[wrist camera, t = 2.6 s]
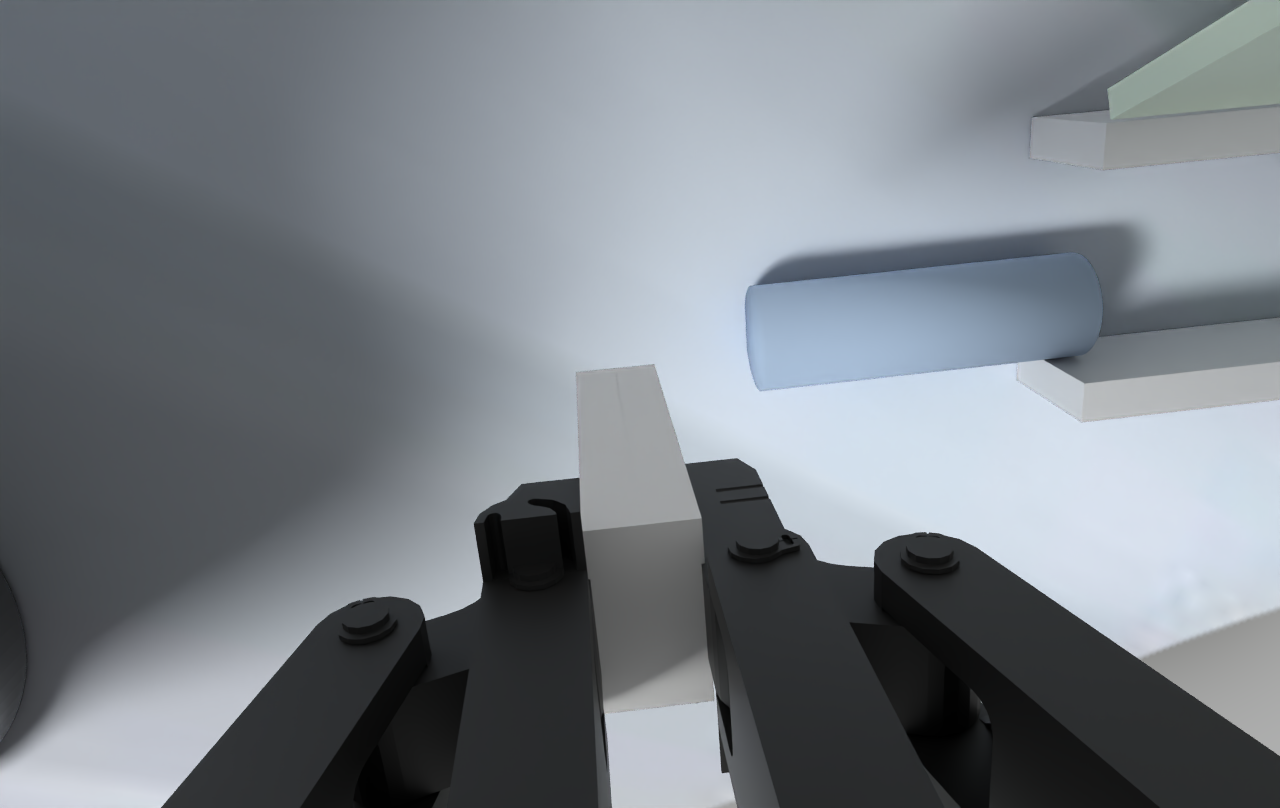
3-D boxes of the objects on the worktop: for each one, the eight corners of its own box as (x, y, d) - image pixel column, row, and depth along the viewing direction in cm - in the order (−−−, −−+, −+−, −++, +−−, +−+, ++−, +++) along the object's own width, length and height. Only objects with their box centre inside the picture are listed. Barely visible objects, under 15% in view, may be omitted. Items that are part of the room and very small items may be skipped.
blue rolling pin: (740, 310, 30) (755, 404, 29) (754, 268, 27) (772, 371, 26) (1038, 278, 30) (1062, 369, 29) (1085, 234, 27) (1114, 334, 26)
